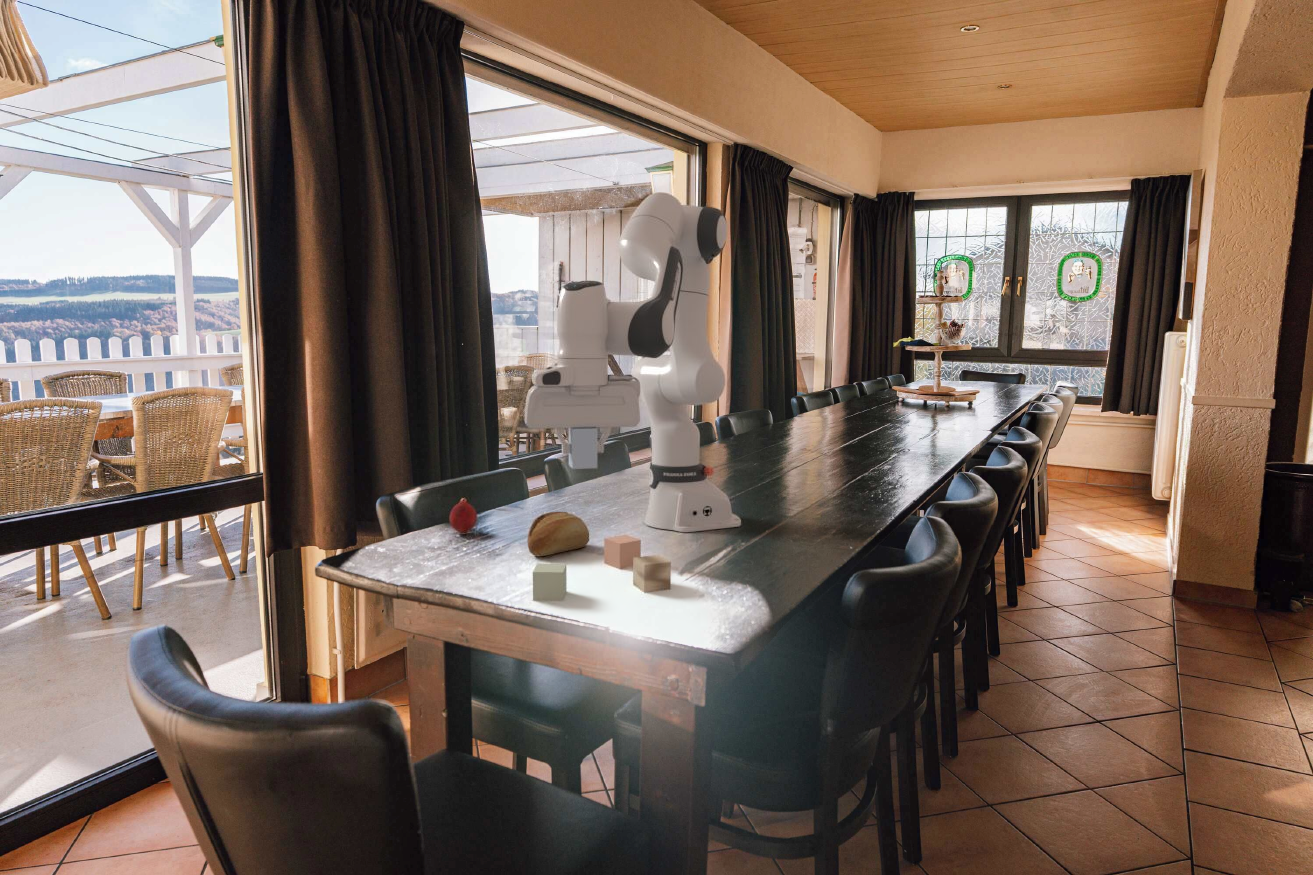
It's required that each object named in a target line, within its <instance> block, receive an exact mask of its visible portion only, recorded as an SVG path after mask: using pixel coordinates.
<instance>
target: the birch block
mask: <svg viewBox="0 0 1313 875" xmlns="http://www.w3.org/2000/svg"><path fill="white" fill-rule="evenodd" d="M671 562H672V561H670V560H669V559H667V558H665V557H663V556H662V555H660V554H655V555H654V554H653V555H645V556H641V557H634V558H633V567H632V585H633V586H634V587H635V588H636V589H638V590H640V591H641V592H643V593H644V594H645V593H653V592H654V593H655V592H659V591H661V592H662V591H667V590H668V591H669V590H671V589H672V588H671V585H672V584H671V582H672V581H671V580H672V579H671V578H672V572H671V571H672V569H671V568H672V565H671V564H672V563H671Z"/></svg>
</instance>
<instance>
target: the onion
mask: <svg viewBox="0 0 1313 875" xmlns="http://www.w3.org/2000/svg"><path fill="white" fill-rule="evenodd" d="M477 518H478V515H477V511H476V508H475V507H474V506H473V505H471V504H470V503H468V502H467V498H465V497H464V498H463V497H462V498H461V499H460V500H459V502H458V503H457V504H456V505H455V506H453V508H452V509H451V511H450V513H449V519H448V520H449V523H450V525H451V527H452V528H453V529H454V530H455V531H456V532H458V533H460V534H461V533H466V534H468V532H469V531H471V530H472V529H473V528H474V526H475V525H476V524H477Z"/></svg>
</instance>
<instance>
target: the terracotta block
mask: <svg viewBox="0 0 1313 875" xmlns="http://www.w3.org/2000/svg"><path fill="white" fill-rule="evenodd" d="M603 542H604V543H603V544H604V546H603V548H604V549H603V550H604V552H603V553H604V554H603V562H604V564H605V565H607V566H609V567H613V568H615V569H618V570H623V569H628V568H631V567H632V568H633V558H634V557H642V556H641V554H642V553H641V552H642V551H641V549H642V545H641V544H642V540H641V539H639V538H636V537H635V536H630V535H627V534H621V535H617V536H616V535H615V536H611V537H610V536H609V537H605V538H604V540H603Z"/></svg>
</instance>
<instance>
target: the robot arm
mask: <svg viewBox="0 0 1313 875" xmlns="http://www.w3.org/2000/svg"><path fill="white" fill-rule="evenodd" d="M728 229H729V228H728V223H727V219H726V215H725V213H723V211H722V210H721V209H719V208H717V207H713V206H708V205H704V206H697V205H689V204H682V203H681V202H680V200H679V199H678V198H676V196H674V195H673V194H670V193H668V192H655V193H654V192H653V193H651V194H649V195H647V197H645V199H643V201H642V202H640V204H639V205H638V206H637V208H635V210H634V211H633V213H632V214H631V216H630V217H629V219H628V221H627V223H626V224H625V226H624V228H623V230H622V233H621V234H620V237H619V241H618V246H617V247H618V255H619V258H620V259H621V262H622V263H623V264H624V266H625V268H626V269H627V270H628V271H630V272H631V273H632V274H633V275H635V276H636V277H638V278H640V279H643V280H646V281H647V280H648V281H652V282H654V285H653V290H652V295H651V297H650V298H647V299H644V300H641V301H611V299H609V298H608V297H607V294H606V288H605V285H604V283H603V282H601V281H597V280H581V281H572V282H569V283H566V284H564V285H563V286H562V287H561V288H560V293H559V296H558V304H557V312H556V313H557V315H556V317H557V318H556V319H557V320H556V333H557V337H558V343H559V347H558V351H557V354H556V355H557V356H556V357H557V358H556V359H557V362H556V365H553V366H548V367H545V368H544V369H541V370H537V371H534V372H532V374H531V382H532V384H533V385H532V386H531V387H530V388H529V390H528V392H527V394H526V398H525V399H526V400H525V406H524V423H525V426H526V427H528V428H529V429H530V430H531V429H532V430H533V429H535V430H538V429H546V430H547V429H555V430H554V434H555V435H556V437H557V438H558V441H559V442H560V444H561V453H562V455H563V454H564V455H567V454H568V455H569V454H571V443H569V442H567V441H566V440H565V439H564V437H563V435H565V432H566V431H565V430H566V429H569V428H595V427H596V428H600V430H599V431H600V433H602V434H601V436H600V438H599V440H598V441H597V454H603V453H605V452H604V451H605V443H606V442H607V440H608V438H609V436H610V435H611V428H630V427H631V428H633V427H637V426H638V424H639V423H640V421H641V413H640V403H639V398H640V400H641V401H642V404H643V406H644V408H645V411H646V415H647V417H648V422H649V425H650V431H651V432H650V434H651V435H650V436H651V462H650V463H649V470H648V483H649V487H650V491H649V497H648V498H649V500H648V504H647V505H648V506H647V509H646V510H647V511H646V515H645V518H644V521H643V523H644V524H645V525H646V526H649V527H651V528H655V529H660V530H661V529H662V530H670V531H675V532H680V533H690V532H691V533H693V532H699V531H711V530H717V529H718V530H719V529H729V528H735V527H736V528H737V527H741V525H742V520H741V518H740V517H739V516H738V515H737V514H734V513H733V511H732V505H731V501H730V498H729V496H728V495H727V494H726V493H725V492H723V491H722V490H721V489H720V488H718V486H716V485H715V484H714V483H712V482H711V481H710V480H709V479H707V477H711V476H713V474H714V472H715V470H714V468H713V467H711V466H709V465H708V466H707V465H704V464H703V463H701V462H700V453H701V452H700V448H701V446H700V445H701V434H700V430H699V427H698V426H697V424H695V422H694V421H692V419H691V417H690V416H689V413H688V411H687V407H686V405H687V406H702V405H706V404H712V403H714V402H716V401H717V400H719V398H720V397H721V396H722V395H723V393H724V390H725V386H726V375H725V371H724V369H723V367H722V365H720V363H719V362H718V361H717V360H716V358H715V357H714V355H713V352H712V350H711V346H710V344H709V337H708V330H707V329H708V327H707V326H708V312H709V311H708V309H709V297H710V264H711V263H712V262H713V260H714V259H715V258H716V257H718V256H719V255H720V253H721V252H723V250H724V248H725V247H726V246H725V245H726V243H727V239H728V234H729V233H728ZM668 350H669V354H664V353H666V352H667V351H668ZM608 355H612V356H632V357H633V356H636V357H641V358H640V359H638V360H637V361H636V362H635V363H634V365H633V367H632V369H631V372H630V374H609V356H608Z"/></svg>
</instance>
